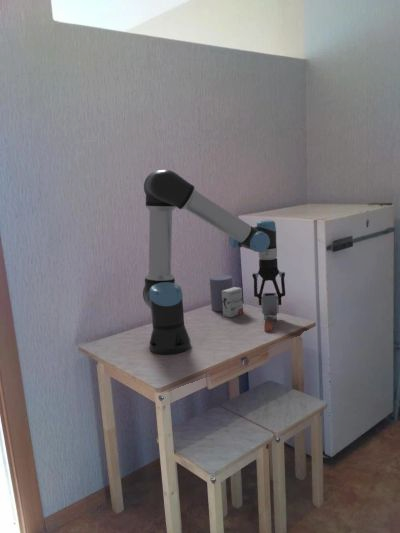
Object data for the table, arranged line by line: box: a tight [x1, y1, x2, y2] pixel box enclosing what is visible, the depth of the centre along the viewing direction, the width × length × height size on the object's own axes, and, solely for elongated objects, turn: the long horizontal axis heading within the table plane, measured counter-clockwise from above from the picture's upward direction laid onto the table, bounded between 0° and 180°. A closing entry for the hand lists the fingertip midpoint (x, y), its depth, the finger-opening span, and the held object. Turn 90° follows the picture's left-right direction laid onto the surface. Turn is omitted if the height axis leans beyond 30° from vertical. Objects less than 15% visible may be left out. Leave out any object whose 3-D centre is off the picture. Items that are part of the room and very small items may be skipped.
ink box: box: [222, 286, 244, 318], centre depth 210 cm, size 9×5×12 cm, turn 133°
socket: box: [262, 292, 278, 316], centre depth 198 cm, size 6×6×8 cm
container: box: [209, 274, 233, 312], centre depth 220 cm, size 10×10×15 cm
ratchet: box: [263, 314, 278, 333], centre depth 193 cm, size 5×18×8 cm, turn 168°
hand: (270, 312), depth 199 cm, fingers closed on socket, 5 cm apart
